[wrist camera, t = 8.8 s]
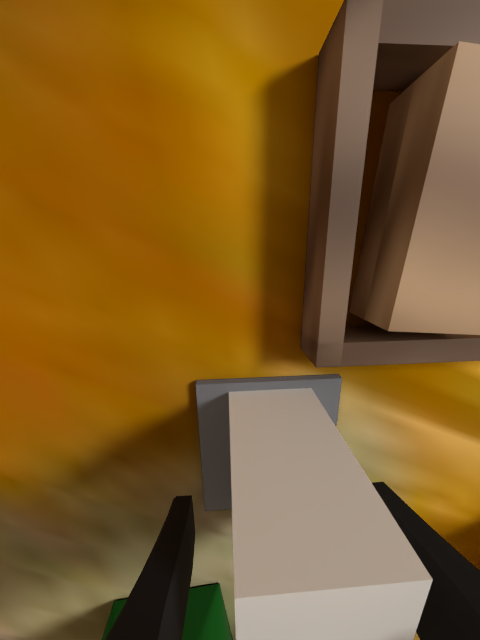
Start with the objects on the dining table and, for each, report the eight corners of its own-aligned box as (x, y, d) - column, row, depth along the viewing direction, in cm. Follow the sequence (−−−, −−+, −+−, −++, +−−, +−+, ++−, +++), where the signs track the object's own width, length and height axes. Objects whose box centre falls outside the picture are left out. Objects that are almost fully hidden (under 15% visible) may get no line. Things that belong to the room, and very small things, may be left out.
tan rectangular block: (425, 314, 12) (491, 335, 9) (346, 310, 11) (388, 331, 8) (480, 119, 9) (593, 60, 7) (384, 107, 9) (459, 41, 6)
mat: (324, 495, 14) (327, 502, 14) (205, 503, 14) (204, 511, 13) (338, 374, 12) (342, 378, 11) (196, 380, 11) (195, 384, 11)
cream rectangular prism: (302, 496, 13) (380, 741, 7) (232, 501, 13) (240, 759, 7) (311, 387, 12) (433, 580, 5) (228, 391, 11) (234, 598, 5)
